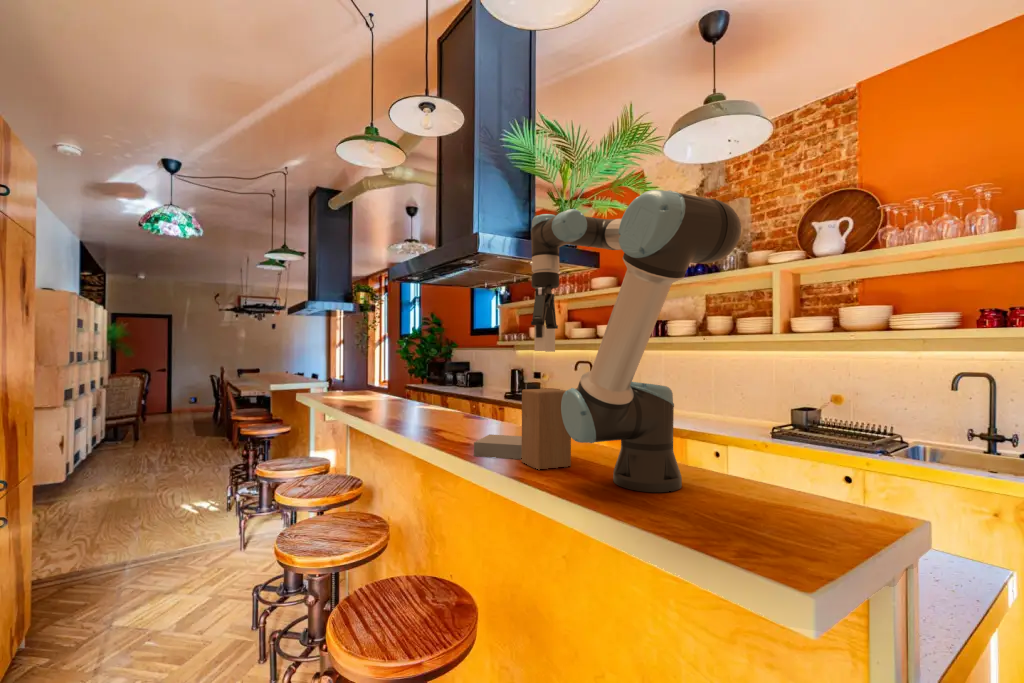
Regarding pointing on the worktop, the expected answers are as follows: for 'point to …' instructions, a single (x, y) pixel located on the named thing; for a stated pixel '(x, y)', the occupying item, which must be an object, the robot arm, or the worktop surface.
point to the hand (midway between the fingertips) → (545, 351)
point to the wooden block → (544, 430)
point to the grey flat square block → (499, 446)
